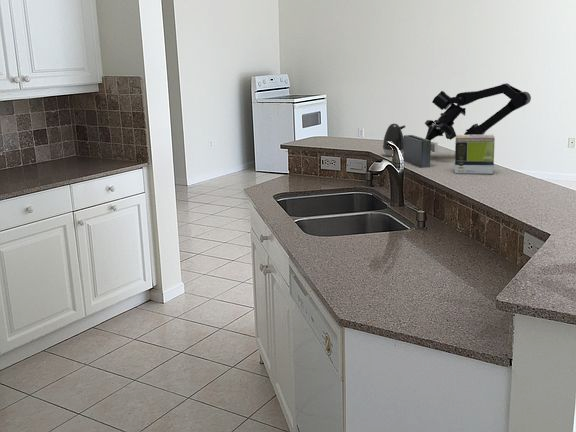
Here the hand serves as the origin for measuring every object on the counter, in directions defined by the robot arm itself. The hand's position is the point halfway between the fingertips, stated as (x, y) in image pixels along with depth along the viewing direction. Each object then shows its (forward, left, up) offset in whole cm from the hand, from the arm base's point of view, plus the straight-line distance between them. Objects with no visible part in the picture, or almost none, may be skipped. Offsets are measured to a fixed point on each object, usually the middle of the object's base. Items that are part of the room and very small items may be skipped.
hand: (425, 141), depth 286 cm
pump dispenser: (+18, +3, -8) cm, 20 cm away
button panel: (-4, +9, -8) cm, 13 cm away
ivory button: (-12, +9, -2) cm, 15 cm away
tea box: (-33, +5, -8) cm, 35 cm away
